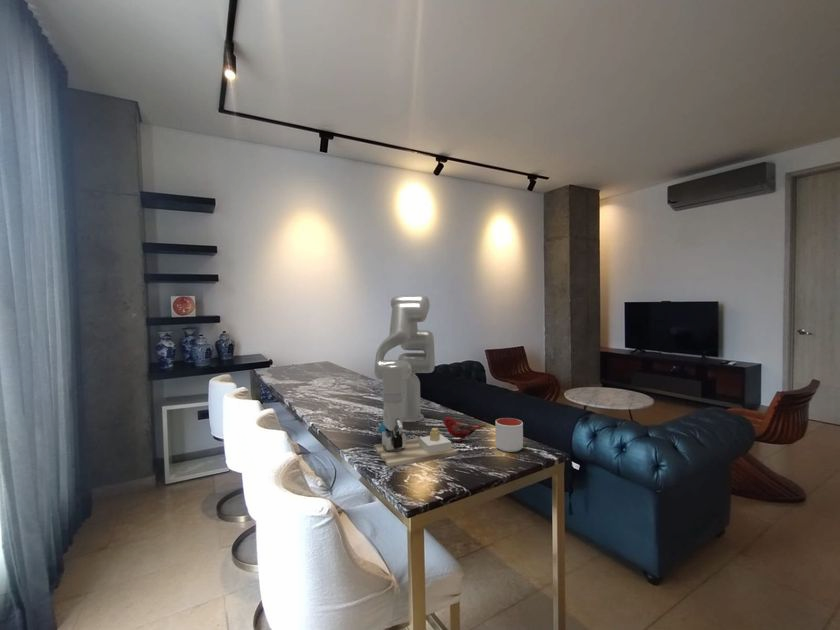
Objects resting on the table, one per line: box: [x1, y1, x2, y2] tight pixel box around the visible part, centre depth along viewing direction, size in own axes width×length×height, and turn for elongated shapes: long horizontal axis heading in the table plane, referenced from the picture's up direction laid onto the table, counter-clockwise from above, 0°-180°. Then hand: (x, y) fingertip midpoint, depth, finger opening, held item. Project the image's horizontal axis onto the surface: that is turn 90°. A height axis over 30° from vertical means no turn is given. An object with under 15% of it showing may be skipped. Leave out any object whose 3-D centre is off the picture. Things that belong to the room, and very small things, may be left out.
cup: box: [495, 417, 524, 453], centre depth 143 cm, size 10×10×10 cm
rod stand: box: [383, 431, 405, 452], centre depth 140 cm, size 8×8×6 cm
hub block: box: [418, 427, 452, 454], centre depth 140 cm, size 9×9×7 cm
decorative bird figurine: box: [442, 416, 487, 443], centre depth 150 cm, size 3×18×10 cm, turn 95°
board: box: [373, 437, 458, 468], centre depth 140 cm, size 18×26×2 cm
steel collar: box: [381, 430, 407, 450], centre depth 140 cm, size 7×7×4 cm
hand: (393, 443), depth 140 cm, fingers open, 9 cm apart
